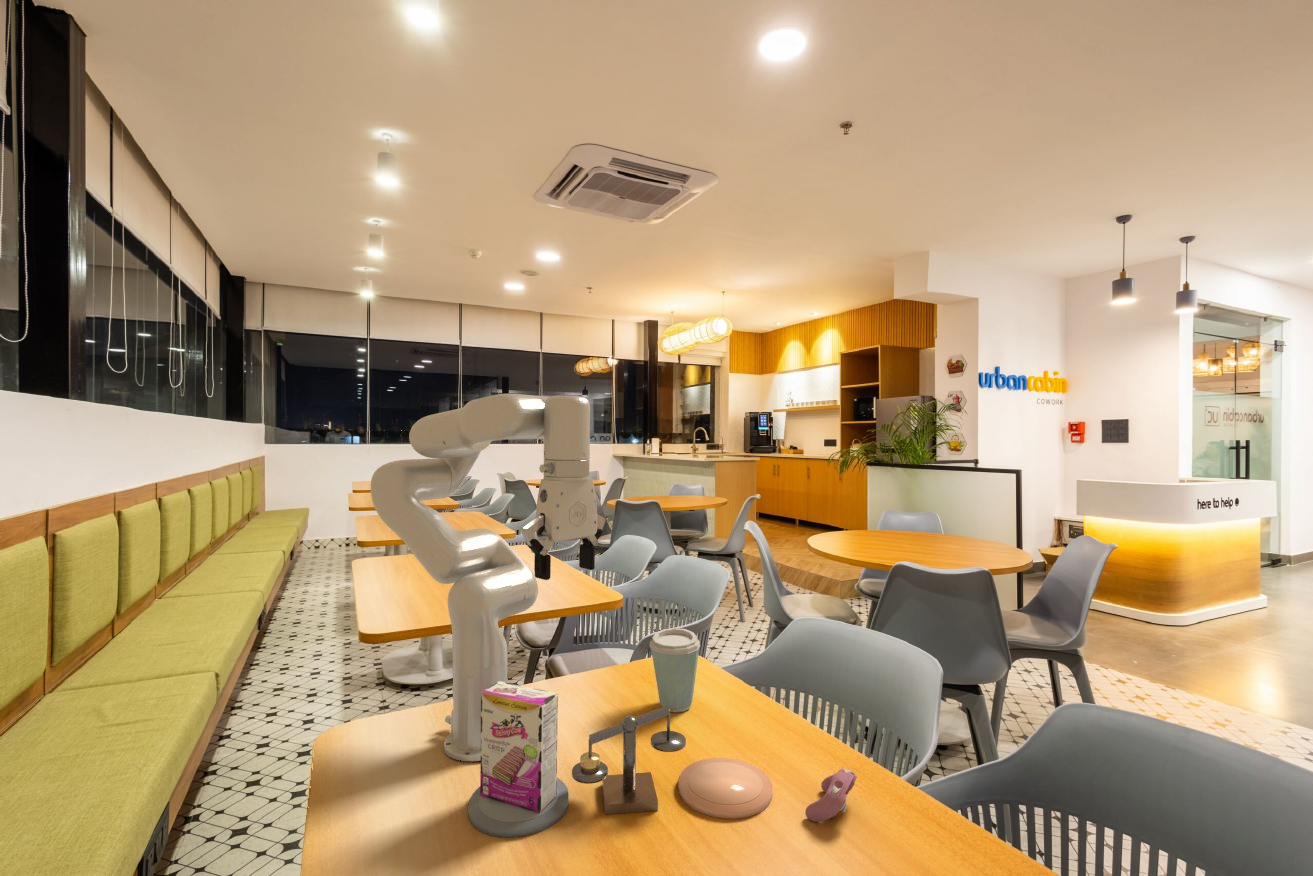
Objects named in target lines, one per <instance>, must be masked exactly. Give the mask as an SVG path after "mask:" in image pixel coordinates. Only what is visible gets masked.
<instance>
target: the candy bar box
mask: <svg viewBox="0 0 1313 876" xmlns="http://www.w3.org/2000/svg"><path fill="white" fill-rule="evenodd" d="M558 695H559V693H558V692H553V691H549V690H543V689H539V688H534V687H530V686H529V687H528V686H523V685H520V684H514V683H511V682H507V683H506V682H501V681H499V682H497V683H495V684H494V685H492V686H490V687H489V688H487V689H485V690H484V691H482V692H481V761H480V778H479V781H480V786H479V787H480V796H483V797H487V798H490V799H494V800H497V801H501V802H504V803H508V804H511V805H515V806H518V807H521V808H525V809H528V810H532V811H535V812H538V813H541V812H542V811H543V810H544V809H545V808H546V807H547V806H548V804H549V803H551V802H552V801H553V800H554V799H555V798H556V796H557V778H558V774H557V773H558V767H557V766H558V708H559V706H558V704H559V703H558V701H559V699H558V697H559V696H558Z"/></svg>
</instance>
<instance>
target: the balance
mask: <svg viewBox="0 0 1313 876" xmlns="http://www.w3.org/2000/svg"><path fill="white" fill-rule="evenodd" d="M665 717H666V730H662V731H658V732H655V733H654V734H652V735H651V737H650V745H651V747H652V748H653V749H654V750H656V751H658V752H659V751H660V752H664V753H675V752H678V751H679V752H680V751H681V750H683V749H685V747H686V744H687V741H686V739H687V738H686V737H685V735H684V734H682V733H680V732H677V731H674V730H671V712H670V709H668V707H667V705H666V706H664V707H662V706H661V707H659V708H656V709H654V710H651V711H649V712H645V713H643V714H640V715H638V716H636V717H635V716H634V715H627V716H625V717H624V718H623V719H622V721H621V722H620V723H617V724H614V725H611V726H610V727H607V728H604V729H601V730H599V731H597V732H593V733H591V734H589V735H588V738H589V739H588V752H584V753H582V754H581V755H580V762H578V763H576V764H575V765H573V767H572V769H571V777H572V778H573V780H574V781H575V782H578V783H580V784H584V785H585V784H587V785H592V784H596V783H597V784H598V783H599V782H602V783H601V787H602V796H603V806H604V807H603V808H604V815H606V816H607V815H621V814H631V813H644V812H657V811H658V812H659V798H658V796H657V795H658V794H657V792H656V788H655V783H654V780H653V776H652V772H651V771H648V772H647V771H646V772H636V769H637V765H636V764H637V763H636V762H637V758H636V757H637V729H638V728H639V727H641V726H643V725H644V726H645V725H646V724H649V723H652V722H654V721H657V720H659V719H662V718H665ZM621 734H623V737H622V738H623V740H622V745H623V746H622V748H623V749H622V773H621V774H619V773H618V774H609V767H608V765H607V764H606V763H604V762H602V761H601V760H600V757H601V756H600V754H599V753H598V752H595V751H593V749H592V748H593V745H594V744H597V743H600V742H602V741H605V740H607V739H610V738H613V737H615V736H617V735H621Z"/></svg>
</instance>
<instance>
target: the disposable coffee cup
mask: <svg viewBox="0 0 1313 876" xmlns="http://www.w3.org/2000/svg"><path fill="white" fill-rule="evenodd" d="M700 647H701V643H700V639H698V636H697V635H696V634H695V633H694V631H691V630H689V629H686V628H674V627H673V628H663V629H661V630H659V631H656V632H655V633H654V634H653V636H652V637H651V640H650V641H649V648H650V650H651V656H652V662H653V667H654V677H655V681H656V688H657V693H658V699H659V704H660V706H661V707H664V706H666V705H667V707H668V709H670V713H682V712H686V711H687V710H689V709H691V707H692V703H693V699H694V694H695V693H694V692H695V683H696V676H697V667H698V659H699V651H700Z"/></svg>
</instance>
